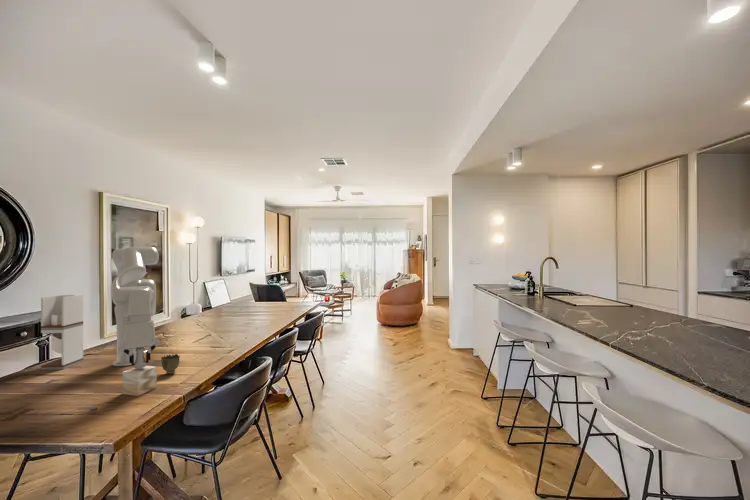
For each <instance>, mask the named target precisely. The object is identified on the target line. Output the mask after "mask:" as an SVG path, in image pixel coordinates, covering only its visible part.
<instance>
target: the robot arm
mask: <svg viewBox="0 0 750 500" xmlns="http://www.w3.org/2000/svg"><path fill="white" fill-rule="evenodd" d="M159 256H160V254H159V251H158V248H156V247H153V246H129V247H125V248H124V247H123V248H116V249H114V250H113V251H112V254H111V257H112V261H113V264H114V266H115V267H116V270H117V275H116V276H115V277H114V279H113V280H112V282H111V283H112V284H111V300H112V302H113V304H114V305H115V306H114V315H115V321H116V360H114V361H112V366H114V367H127V366H132V367H134V363H135V361H136V353H137V352H136V351H135V350H136V348H140V347H144V348H146V350H144V355H145V361H146V364H149V363H150V362H149V361H151V353H152V352H153V351H154V350H155V349H156V348H157V347H158V346H159V345H161V341H160V340H159V339H158V338H157V337H156V331H155V330H156V329H155V323H154V320H152V317H154V316H155V314H156V310H157V286H156V282H155V281H154V279H149V278H145V279H143V277H144V276H146V274H147V268H146V266H151V265H152V266H153V265H157V264H158V262H159V260H160V257H159Z"/></svg>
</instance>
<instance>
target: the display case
mask: <svg viewBox="0 0 750 500" xmlns="http://www.w3.org/2000/svg"><path fill="white" fill-rule="evenodd" d="M40 334H50V337H51V339H50V341H51V342H50V343H51V344H50V347H51V350H52V351H53V352H55V353H57V354H61V358H60V359H59V358H58V359H56V360H54V361H51V362H48V363H45V364H42V365H40V371H51V370H59V371H60V370H66V369H68V368H71V367H73V366H76V365H79V364H82V363H84V294H59V295H58V294H57V295H52V296H51V295H50V296H45V297H44V296H43V297H40Z"/></svg>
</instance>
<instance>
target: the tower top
mask: <svg viewBox="0 0 750 500" xmlns="http://www.w3.org/2000/svg"><path fill="white" fill-rule="evenodd" d="M157 373H158V372H157V366H152V365H146V366H145V367H143V368H138V369H135V368H134V367H132V368H130V369H127V370H124V371H122V384H123V383H125V384H134V385H140V384H142V383H145V382H147V381H149V380H152V379H154V378H156V379H157V378H158V377H157V376H158V375H157Z"/></svg>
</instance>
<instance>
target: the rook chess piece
mask: <svg viewBox="0 0 750 500" xmlns="http://www.w3.org/2000/svg"><path fill="white" fill-rule="evenodd" d="M135 351H136V352H137V353H136V361H135V363H134V365H133V368H135V369H138V368H143V367H145V366H147V363H146V359H145V356H144V351H146V350H145V347H140V348H136V350H135Z"/></svg>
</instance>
